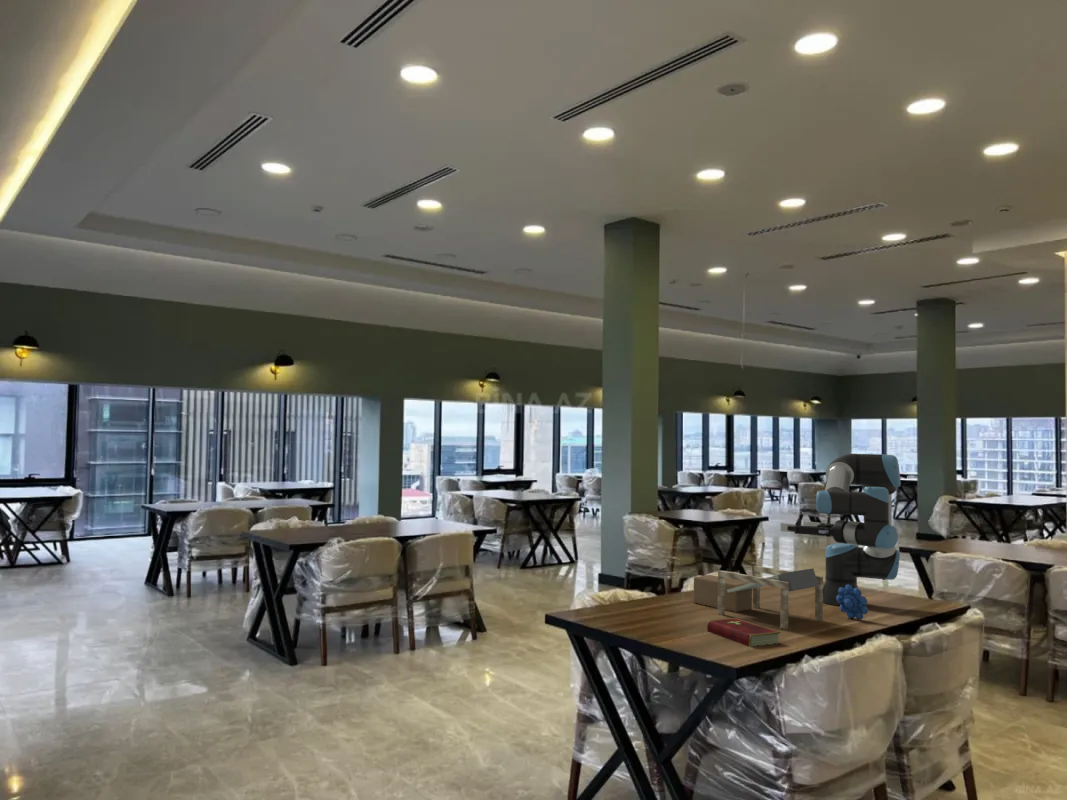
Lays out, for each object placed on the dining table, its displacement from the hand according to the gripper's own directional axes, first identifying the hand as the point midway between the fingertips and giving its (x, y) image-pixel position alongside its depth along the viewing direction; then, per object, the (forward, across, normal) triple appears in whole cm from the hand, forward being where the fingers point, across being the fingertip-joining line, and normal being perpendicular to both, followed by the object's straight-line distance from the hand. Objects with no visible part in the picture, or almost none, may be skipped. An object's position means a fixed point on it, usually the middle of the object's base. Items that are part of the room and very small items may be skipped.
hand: (792, 525), depth 285 cm
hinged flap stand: (+8, -2, -33) cm, 34 cm away
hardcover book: (-5, -34, -34) cm, 49 cm away
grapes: (-10, +21, -33) cm, 41 cm away
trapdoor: (+5, -2, -25) cm, 26 cm away
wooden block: (+19, -1, -28) cm, 34 cm away
